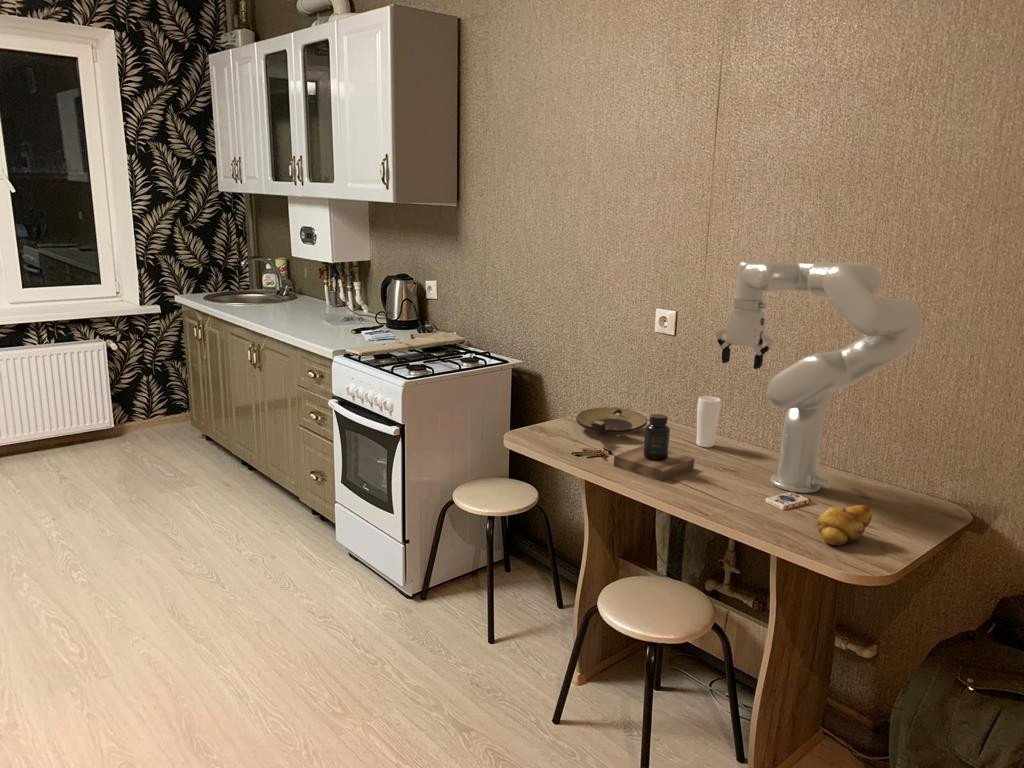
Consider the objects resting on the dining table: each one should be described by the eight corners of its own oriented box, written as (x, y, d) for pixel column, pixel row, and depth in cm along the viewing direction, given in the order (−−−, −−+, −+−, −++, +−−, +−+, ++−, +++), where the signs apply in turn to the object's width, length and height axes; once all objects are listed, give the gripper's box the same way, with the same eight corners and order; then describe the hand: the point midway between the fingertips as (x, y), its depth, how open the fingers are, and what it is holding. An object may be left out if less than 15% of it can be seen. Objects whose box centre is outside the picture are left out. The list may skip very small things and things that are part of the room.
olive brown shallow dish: (660, 432, 245) (662, 410, 243) (603, 451, 224) (605, 426, 222) (605, 417, 260) (607, 396, 258) (548, 433, 239) (549, 410, 237)
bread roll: (843, 553, 162) (848, 519, 160) (801, 537, 169) (806, 504, 167) (872, 539, 170) (877, 506, 168) (831, 524, 177) (836, 492, 175)
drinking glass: (714, 442, 236) (719, 396, 233) (717, 449, 229) (722, 402, 226) (692, 441, 237) (696, 395, 233) (695, 448, 230) (700, 400, 227)
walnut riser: (693, 468, 211) (694, 458, 211) (662, 481, 200) (663, 471, 199) (645, 454, 222) (646, 444, 221) (613, 465, 211) (614, 455, 210)
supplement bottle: (672, 457, 210) (676, 416, 208) (659, 463, 205) (663, 421, 203) (651, 451, 215) (654, 411, 212) (638, 456, 210) (641, 415, 207)
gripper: (783, 308, 207) (775, 369, 211) (725, 301, 219) (719, 358, 223) (771, 310, 202) (763, 372, 206) (713, 302, 213) (707, 361, 217)
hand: (741, 365), depth 214 cm, fingers open, 9 cm apart
